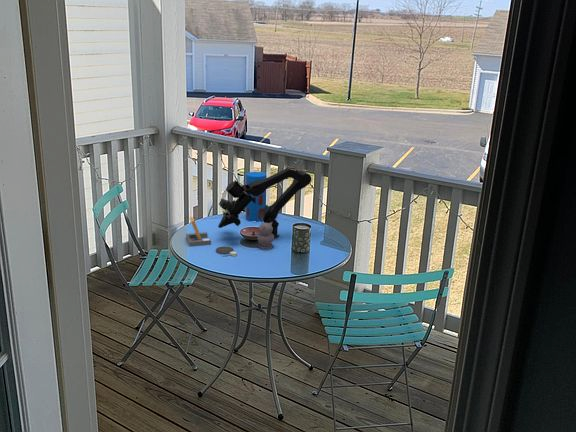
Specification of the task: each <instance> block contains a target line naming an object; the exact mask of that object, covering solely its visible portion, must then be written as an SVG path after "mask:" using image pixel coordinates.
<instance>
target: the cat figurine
mask: <svg viewBox="0 0 576 432" xmlns="http://www.w3.org/2000/svg"><path fill="white" fill-rule="evenodd" d="M272 231H273V227H272V222H271V223H264V222H263V223H261V224H260V225H259V227H258V232H259V234H257V236H256V237H257V242H258V248H259V249H261V250H271V249H272V248H273V241H274V240H275V238H274V235H273V234H272Z"/></svg>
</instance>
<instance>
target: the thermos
mask: <svg viewBox="0 0 576 432" xmlns="http://www.w3.org/2000/svg"><path fill="white" fill-rule="evenodd" d="M245 178H246V179H245V185H247V184H249V183H251V182H253V181H257V180H263V179H266V178H267V174H266V172H263V171H249V172H247V173H246V176H245ZM245 193H246V192H245ZM246 194H247V193H246ZM250 195H251V196H252V197H255V198H256V203H254V202H253V201H251V202H250V203H249V204H248V205H247V207H246V208H245V220H246V221H247V222H251V221H256V222H255V223H261V222H263V220H262V219H261V218H260V213H261V210H262V209H263V208H264V207H265V206H266V205H267V189H266V190H265V192H263V193H262V194H261V195H259V196H253V195H252V194H250ZM260 221H261V222H260Z"/></svg>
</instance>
